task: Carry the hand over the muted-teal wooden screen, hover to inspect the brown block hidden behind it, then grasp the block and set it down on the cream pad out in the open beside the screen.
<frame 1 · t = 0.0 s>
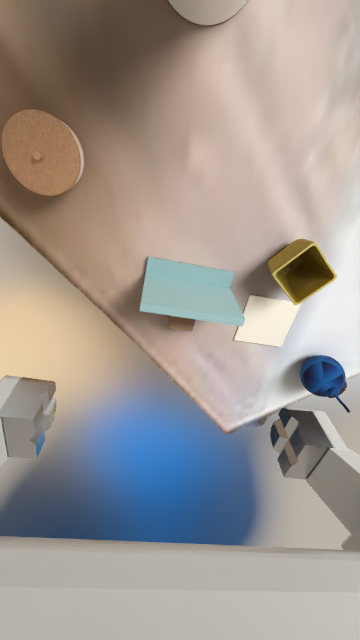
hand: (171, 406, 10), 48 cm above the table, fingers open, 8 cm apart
lidded jar: (58, 154, 47), on the table
screen: (187, 282, 60), on the table
pad: (266, 321, 65), on the table
bomb: (313, 363, 73), on the table
brown block: (181, 308, 63), on the table
flower pot: (286, 259, 58), on the table
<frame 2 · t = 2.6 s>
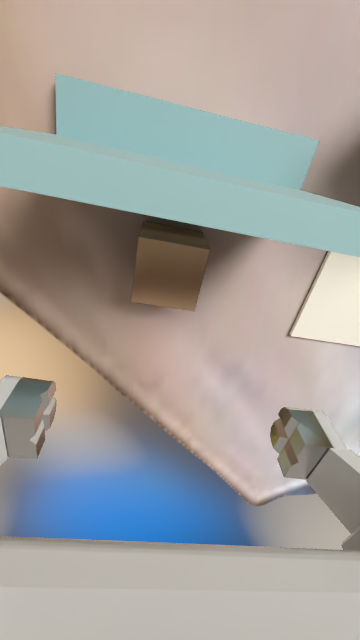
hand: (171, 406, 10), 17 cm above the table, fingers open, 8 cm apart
screen: (183, 174, 22), on the table
brown block: (168, 255, 25), on the table
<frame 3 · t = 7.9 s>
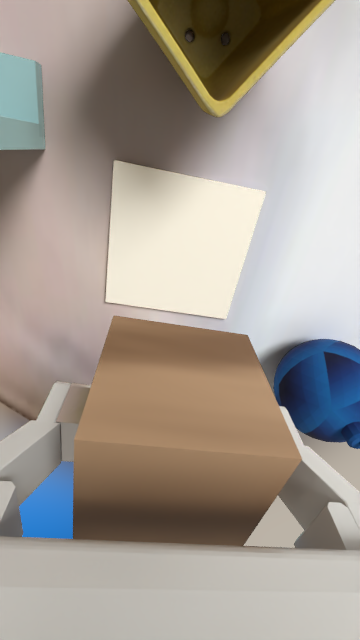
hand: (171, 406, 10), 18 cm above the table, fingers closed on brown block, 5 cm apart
pad: (178, 250, 25), on the table
bomb: (307, 358, 33), on the table
brown block: (170, 376, 12), point 16 cm above the table, touching gripper
flower pot: (206, 13, 18), on the table
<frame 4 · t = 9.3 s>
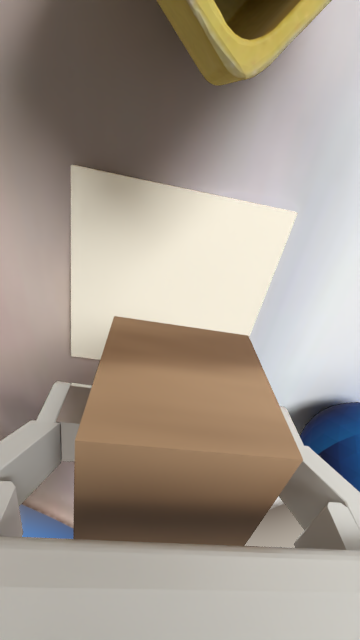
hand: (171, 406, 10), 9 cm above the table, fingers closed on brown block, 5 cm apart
pad: (170, 290, 18), on the table
bomb: (335, 418, 25), on the table
brown block: (171, 376, 12), point 8 cm above the table, touching gripper
when the fingers open (4 cm above the table, at t = 10.6 s): brown block drops 2 cm, resting on pad.
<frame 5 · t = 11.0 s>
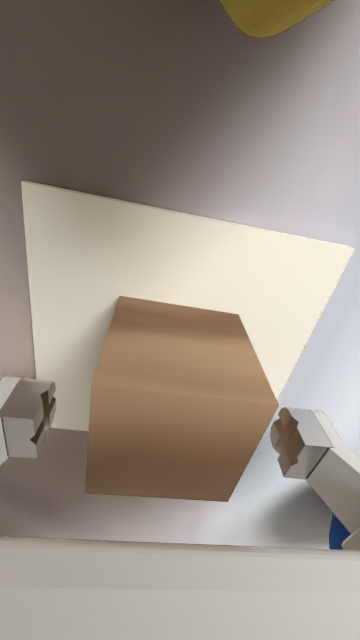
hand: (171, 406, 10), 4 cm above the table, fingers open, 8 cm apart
pad: (170, 347, 13), on the table
brown block: (170, 353, 13), resting on pad
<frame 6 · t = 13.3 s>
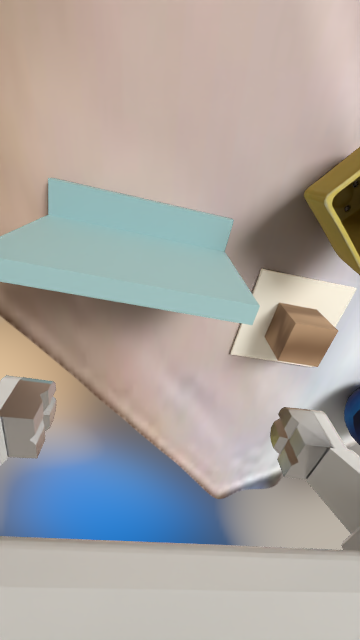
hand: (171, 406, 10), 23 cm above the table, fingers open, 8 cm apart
screen: (140, 238, 30), on the table
pad: (289, 321, 36), on the table
brown block: (289, 323, 36), resting on pad
flower pot: (337, 194, 29), on the table
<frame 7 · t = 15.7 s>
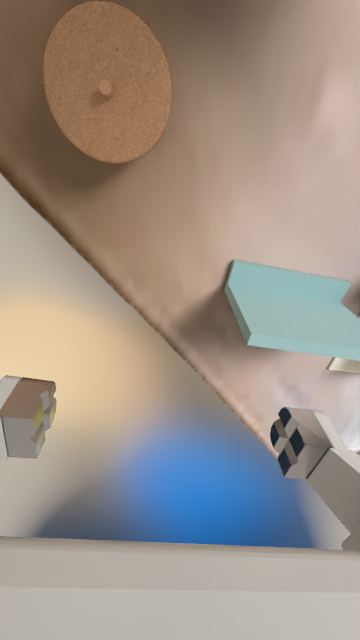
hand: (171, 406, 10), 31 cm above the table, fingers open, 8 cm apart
lidded jar: (121, 104, 31), on the table
screen: (281, 294, 43), on the table
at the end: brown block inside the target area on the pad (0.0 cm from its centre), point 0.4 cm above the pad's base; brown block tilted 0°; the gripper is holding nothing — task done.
